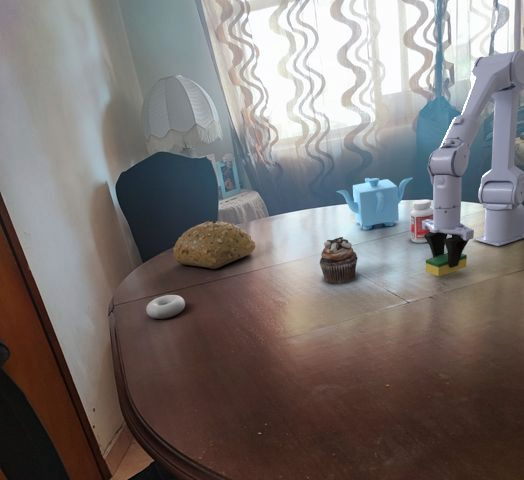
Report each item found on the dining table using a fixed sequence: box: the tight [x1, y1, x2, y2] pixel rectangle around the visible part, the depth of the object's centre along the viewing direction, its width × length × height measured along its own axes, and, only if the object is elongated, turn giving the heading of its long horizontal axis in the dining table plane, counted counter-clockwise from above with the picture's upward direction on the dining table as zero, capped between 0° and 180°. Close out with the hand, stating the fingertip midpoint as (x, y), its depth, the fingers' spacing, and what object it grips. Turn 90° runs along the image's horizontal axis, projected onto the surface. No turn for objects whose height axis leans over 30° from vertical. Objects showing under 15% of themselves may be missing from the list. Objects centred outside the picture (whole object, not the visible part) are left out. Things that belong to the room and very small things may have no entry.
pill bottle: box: [410, 199, 433, 244], centre depth 132 cm, size 6×6×11 cm
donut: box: [145, 294, 186, 320], centre depth 118 cm, size 10×3×10 cm
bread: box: [172, 220, 256, 270], centre depth 150 cm, size 24×21×12 cm
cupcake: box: [319, 236, 358, 284], centre depth 118 cm, size 10×10×10 cm
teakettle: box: [335, 177, 414, 231], centre depth 154 cm, size 19×19×15 cm
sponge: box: [425, 252, 468, 277], centre depth 109 cm, size 8×4×3 cm, turn 111°
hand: (445, 263), depth 109 cm, fingers closed on sponge, 4 cm apart
